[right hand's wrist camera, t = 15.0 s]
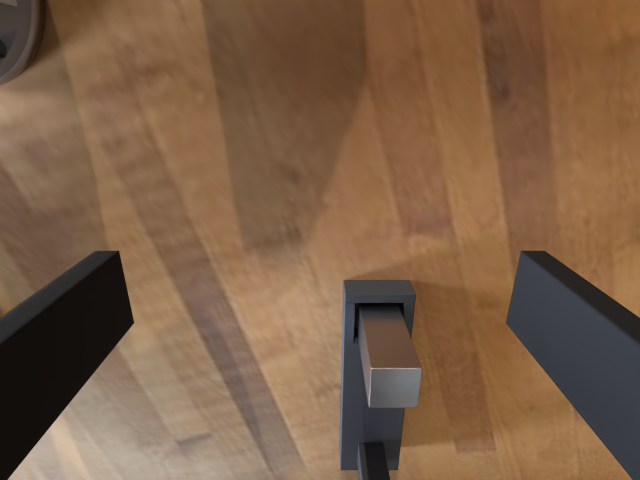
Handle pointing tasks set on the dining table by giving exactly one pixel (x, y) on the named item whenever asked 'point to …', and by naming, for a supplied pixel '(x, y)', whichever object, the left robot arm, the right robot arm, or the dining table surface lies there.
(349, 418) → the peg board
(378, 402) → the peg
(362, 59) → the dining table surface
